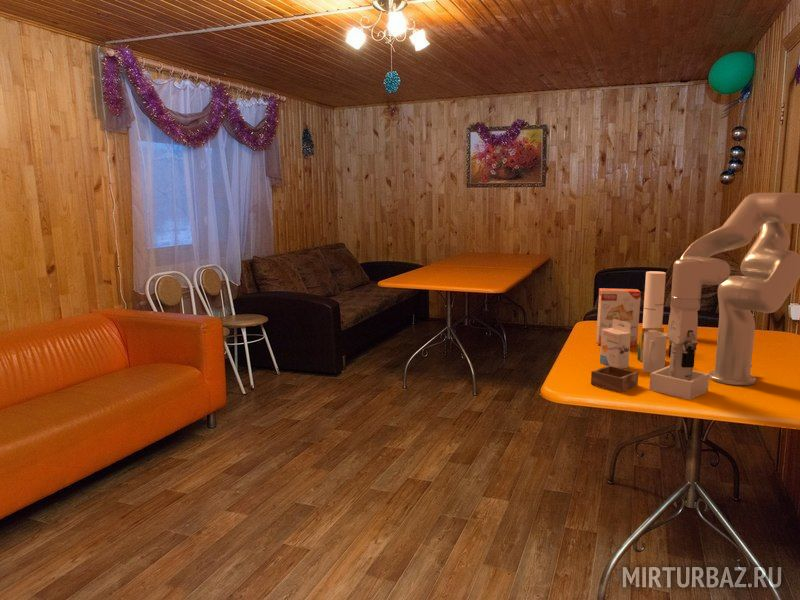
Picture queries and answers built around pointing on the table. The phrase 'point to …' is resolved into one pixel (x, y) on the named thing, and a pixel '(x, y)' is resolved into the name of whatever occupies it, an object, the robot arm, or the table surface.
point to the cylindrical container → (654, 300)
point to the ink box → (616, 344)
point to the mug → (654, 351)
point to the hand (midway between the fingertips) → (680, 362)
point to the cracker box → (618, 310)
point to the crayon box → (641, 341)
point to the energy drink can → (678, 364)
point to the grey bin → (679, 384)
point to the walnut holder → (614, 378)
